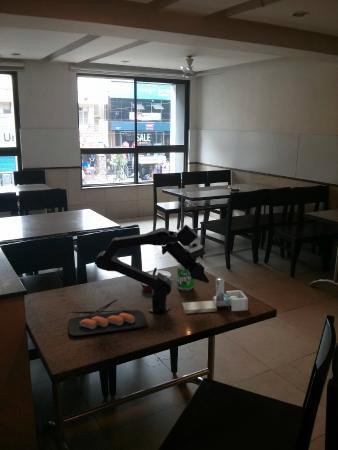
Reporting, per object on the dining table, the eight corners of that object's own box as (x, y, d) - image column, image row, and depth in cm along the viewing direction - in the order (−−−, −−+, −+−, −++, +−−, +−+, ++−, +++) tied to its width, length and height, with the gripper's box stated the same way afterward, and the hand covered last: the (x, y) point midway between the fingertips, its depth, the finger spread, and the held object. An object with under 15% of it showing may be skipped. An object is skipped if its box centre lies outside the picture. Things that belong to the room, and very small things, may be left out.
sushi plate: (69, 341, 145) (68, 331, 144) (66, 306, 173) (66, 297, 172) (149, 330, 152) (149, 320, 151) (134, 298, 180) (134, 290, 179)
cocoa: (139, 289, 190) (137, 264, 187) (151, 286, 192) (149, 262, 190) (147, 295, 181) (145, 270, 179) (160, 292, 184) (158, 267, 181)
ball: (230, 303, 166) (239, 307, 167) (233, 293, 168) (242, 297, 169) (224, 304, 170) (233, 309, 171) (227, 294, 172) (236, 299, 173)
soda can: (174, 286, 191) (174, 262, 188) (188, 284, 194) (189, 260, 192) (181, 292, 185) (182, 267, 182) (196, 289, 188) (196, 265, 185)
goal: (232, 311, 166) (232, 299, 165) (225, 302, 174) (226, 291, 173) (247, 310, 167) (248, 298, 166) (240, 301, 175) (240, 290, 174)
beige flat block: (185, 313, 164) (185, 310, 164) (182, 306, 171) (182, 302, 170) (216, 311, 166) (216, 307, 165) (212, 304, 173) (212, 300, 172)
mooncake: (148, 285, 193) (148, 278, 192) (145, 277, 205) (145, 270, 204) (173, 284, 195) (173, 277, 195) (168, 275, 207) (168, 268, 206)
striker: (216, 306, 166) (216, 282, 163) (212, 300, 172) (213, 276, 169) (229, 305, 167) (230, 281, 164) (225, 299, 172) (226, 276, 170)
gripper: (200, 244, 152) (226, 271, 157) (188, 233, 170) (212, 257, 175) (179, 265, 153) (206, 292, 157) (169, 252, 170) (194, 276, 175)
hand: (205, 278), depth 166 cm, fingers open, 9 cm apart
